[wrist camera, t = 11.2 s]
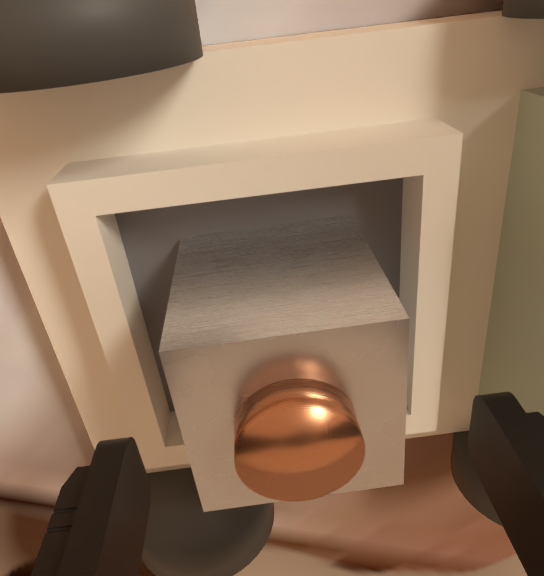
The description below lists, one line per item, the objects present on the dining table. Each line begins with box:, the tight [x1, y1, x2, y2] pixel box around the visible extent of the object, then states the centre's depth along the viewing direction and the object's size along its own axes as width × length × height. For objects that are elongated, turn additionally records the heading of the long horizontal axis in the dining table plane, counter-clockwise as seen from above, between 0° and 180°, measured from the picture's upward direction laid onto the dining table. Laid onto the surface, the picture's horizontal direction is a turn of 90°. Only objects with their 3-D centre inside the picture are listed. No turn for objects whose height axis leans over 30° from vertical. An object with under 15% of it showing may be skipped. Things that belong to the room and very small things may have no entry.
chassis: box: [0, 0, 544, 576], centre depth 16 cm, size 22×20×7 cm
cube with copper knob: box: [159, 215, 410, 512], centre depth 14 cm, size 6×6×7 cm
